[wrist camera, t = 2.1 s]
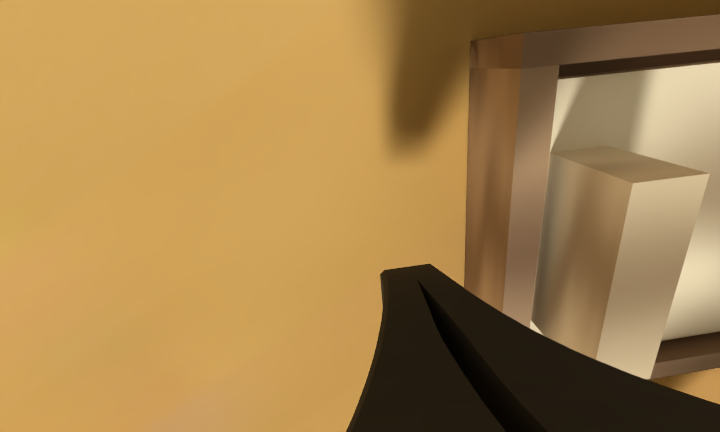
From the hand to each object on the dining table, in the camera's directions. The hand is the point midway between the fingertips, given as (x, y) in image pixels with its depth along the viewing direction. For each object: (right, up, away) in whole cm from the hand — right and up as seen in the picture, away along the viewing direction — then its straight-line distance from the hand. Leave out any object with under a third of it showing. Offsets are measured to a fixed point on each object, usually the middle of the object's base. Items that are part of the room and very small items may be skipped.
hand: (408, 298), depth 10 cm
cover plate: (+12, +2, +3) cm, 12 cm away
